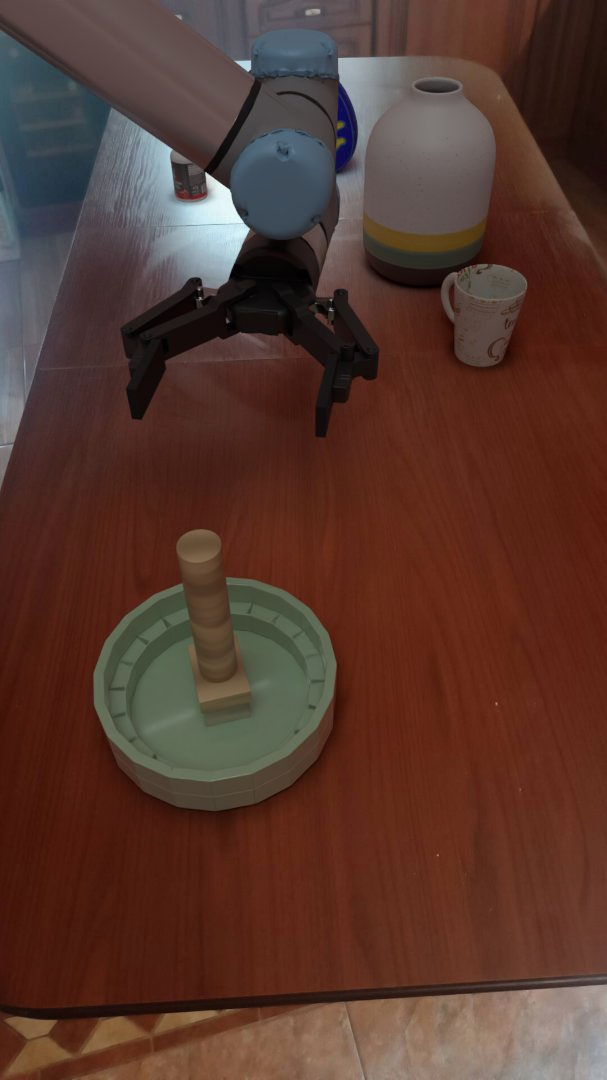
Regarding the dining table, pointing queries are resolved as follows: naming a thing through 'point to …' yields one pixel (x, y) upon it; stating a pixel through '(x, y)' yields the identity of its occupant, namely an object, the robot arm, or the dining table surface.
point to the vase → (427, 184)
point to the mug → (483, 311)
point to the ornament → (345, 129)
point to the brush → (212, 630)
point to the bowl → (174, 711)
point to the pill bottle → (187, 179)
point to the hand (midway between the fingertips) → (225, 413)
